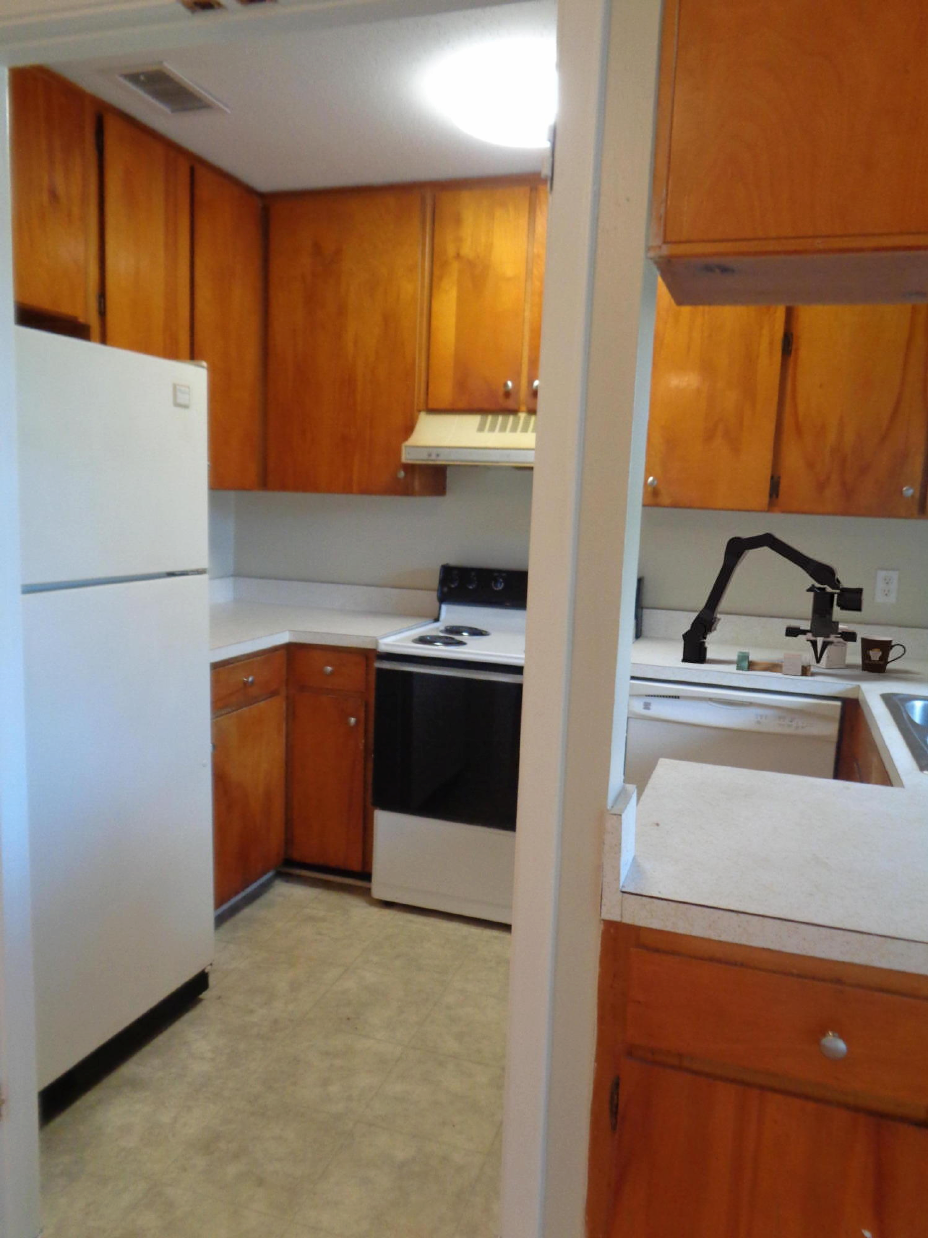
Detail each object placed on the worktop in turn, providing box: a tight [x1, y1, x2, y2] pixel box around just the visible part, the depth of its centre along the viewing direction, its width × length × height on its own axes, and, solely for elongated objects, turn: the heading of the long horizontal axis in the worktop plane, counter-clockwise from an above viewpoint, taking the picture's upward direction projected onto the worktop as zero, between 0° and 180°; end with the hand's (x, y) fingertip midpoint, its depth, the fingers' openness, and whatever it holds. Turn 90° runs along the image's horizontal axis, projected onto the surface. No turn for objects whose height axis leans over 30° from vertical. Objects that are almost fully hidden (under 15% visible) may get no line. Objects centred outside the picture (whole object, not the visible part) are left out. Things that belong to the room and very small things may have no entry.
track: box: [735, 650, 812, 677], centre depth 258 cm, size 20×7×4 cm, turn 69°
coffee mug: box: [860, 635, 907, 674], centre depth 263 cm, size 12×9×10 cm
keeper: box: [781, 652, 803, 676], centre depth 256 cm, size 5×7×5 cm
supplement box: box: [809, 624, 850, 669], centre depth 270 cm, size 7×7×13 cm
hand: (817, 663), depth 254 cm, fingers closed
